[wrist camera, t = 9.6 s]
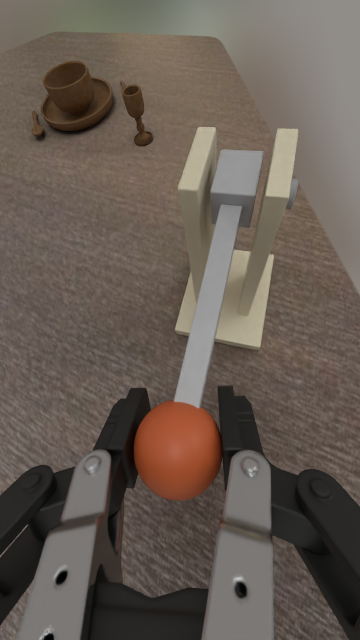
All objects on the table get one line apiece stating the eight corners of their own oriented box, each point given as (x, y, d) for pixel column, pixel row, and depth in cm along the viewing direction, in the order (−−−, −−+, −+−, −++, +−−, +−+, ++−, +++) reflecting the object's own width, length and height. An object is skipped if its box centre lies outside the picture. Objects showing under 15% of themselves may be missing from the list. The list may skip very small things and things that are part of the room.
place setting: (121, 75, 43) (108, 25, 38) (159, 140, 35) (149, 90, 30) (28, 111, 43) (1, 67, 37) (46, 185, 35) (16, 142, 30)
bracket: (257, 351, 23) (323, 257, 9) (176, 333, 25) (128, 232, 11) (271, 261, 26) (335, 92, 12) (198, 251, 28) (183, 92, 14)
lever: (213, 493, 11) (211, 537, 7) (138, 467, 12) (105, 498, 8) (267, 197, 15) (282, 139, 12) (209, 192, 16) (207, 136, 12)
